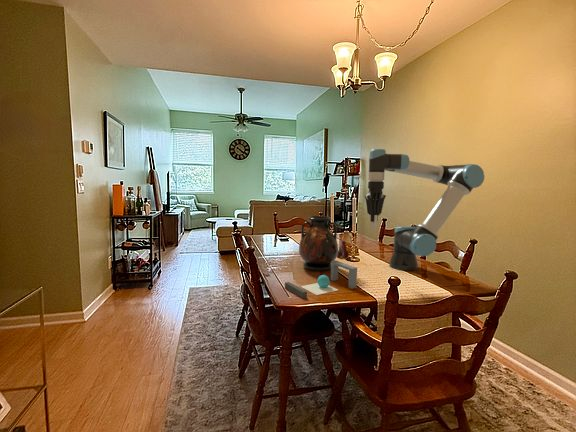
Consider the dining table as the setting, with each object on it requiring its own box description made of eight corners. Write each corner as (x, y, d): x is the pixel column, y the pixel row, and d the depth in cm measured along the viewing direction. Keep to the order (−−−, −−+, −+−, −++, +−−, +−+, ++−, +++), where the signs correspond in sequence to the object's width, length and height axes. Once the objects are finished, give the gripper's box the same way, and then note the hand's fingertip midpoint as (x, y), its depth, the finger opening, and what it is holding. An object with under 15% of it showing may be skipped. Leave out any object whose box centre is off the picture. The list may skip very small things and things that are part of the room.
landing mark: (321, 282, 146) (321, 282, 146) (338, 290, 136) (338, 289, 136) (300, 286, 140) (300, 286, 140) (316, 295, 130) (316, 294, 130)
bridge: (335, 278, 152) (335, 260, 151) (356, 287, 140) (357, 267, 139) (330, 279, 151) (331, 261, 149) (351, 288, 138) (352, 268, 137)
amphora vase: (336, 263, 181) (338, 215, 178) (338, 274, 159) (340, 220, 156) (299, 261, 183) (300, 214, 180) (297, 272, 161) (298, 219, 158)
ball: (313, 277, 140) (316, 287, 141) (321, 280, 135) (323, 291, 136) (323, 271, 142) (325, 282, 144) (330, 274, 137) (333, 285, 139)
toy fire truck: (338, 259, 191) (339, 242, 190) (334, 254, 203) (334, 238, 202) (349, 259, 191) (350, 242, 190) (344, 254, 204) (345, 238, 203)
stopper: (288, 287, 139) (288, 281, 138) (306, 297, 127) (306, 291, 127) (284, 287, 138) (284, 282, 137) (302, 298, 126) (302, 292, 126)
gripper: (379, 181, 160) (376, 226, 163) (361, 180, 154) (358, 227, 156) (391, 181, 154) (388, 228, 157) (372, 180, 147) (370, 230, 150)
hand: (373, 228), depth 157 cm, fingers closed
